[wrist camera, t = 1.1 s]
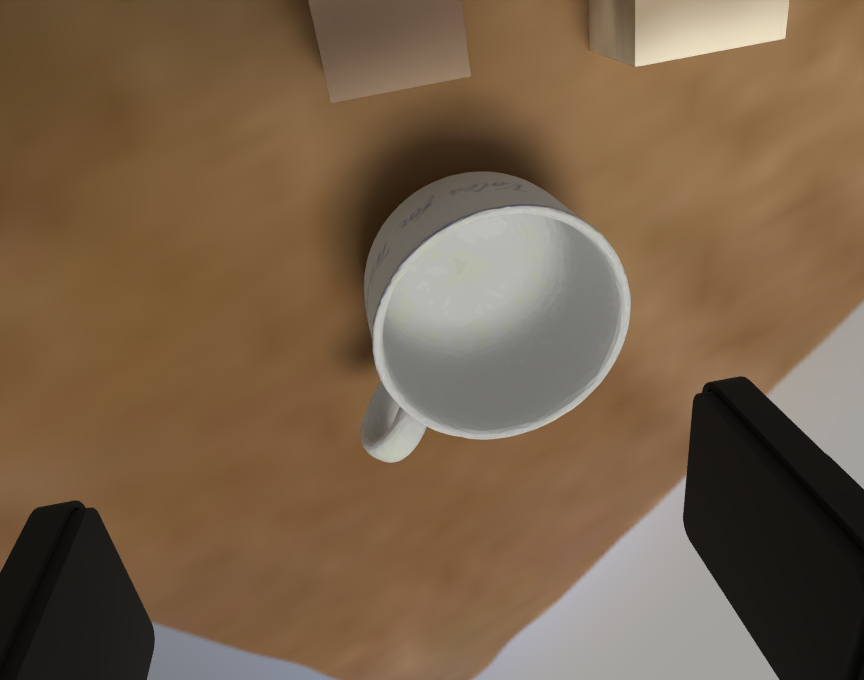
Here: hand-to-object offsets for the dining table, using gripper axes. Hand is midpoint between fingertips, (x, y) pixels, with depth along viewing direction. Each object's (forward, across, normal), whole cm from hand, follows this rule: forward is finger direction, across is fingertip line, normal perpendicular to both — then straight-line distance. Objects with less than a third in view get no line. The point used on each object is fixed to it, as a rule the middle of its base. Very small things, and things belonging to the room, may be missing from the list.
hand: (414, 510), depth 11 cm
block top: (+23, -2, -6) cm, 24 cm away
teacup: (+23, -4, +7) cm, 25 cm away
